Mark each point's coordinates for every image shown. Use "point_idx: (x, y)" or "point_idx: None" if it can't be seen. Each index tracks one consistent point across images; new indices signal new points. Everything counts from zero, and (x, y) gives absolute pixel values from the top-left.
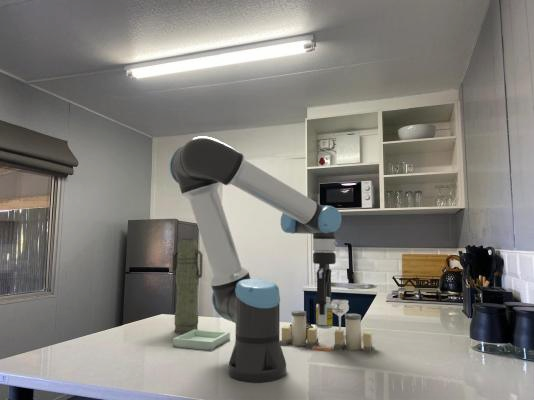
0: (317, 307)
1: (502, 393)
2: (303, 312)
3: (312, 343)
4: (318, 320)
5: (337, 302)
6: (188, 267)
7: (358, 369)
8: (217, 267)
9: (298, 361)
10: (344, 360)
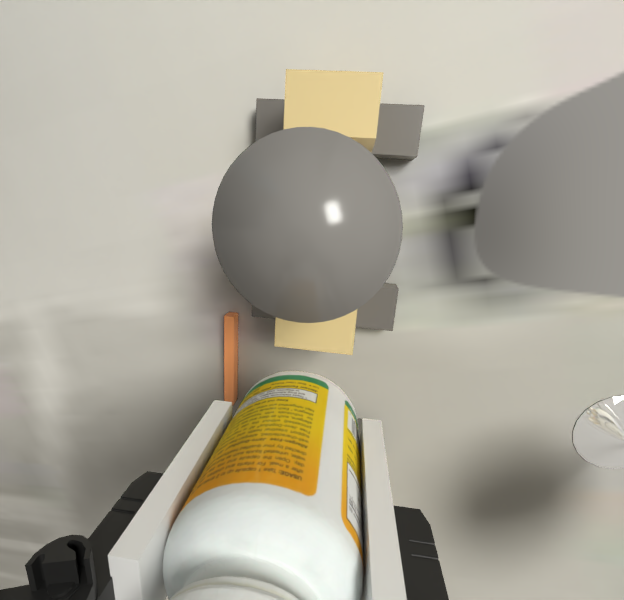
0: (193, 498)
1: None
2: (270, 296)
3: (263, 311)
4: (201, 421)
5: None
6: None
7: (43, 482)
8: None
9: (28, 272)
10: (119, 444)
